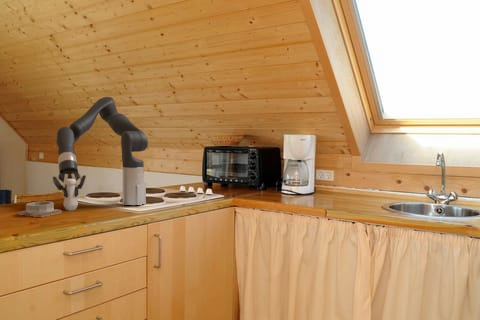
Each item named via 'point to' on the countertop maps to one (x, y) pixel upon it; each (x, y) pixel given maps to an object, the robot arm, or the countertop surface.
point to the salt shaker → (70, 195)
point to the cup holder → (40, 209)
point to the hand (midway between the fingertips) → (71, 196)
